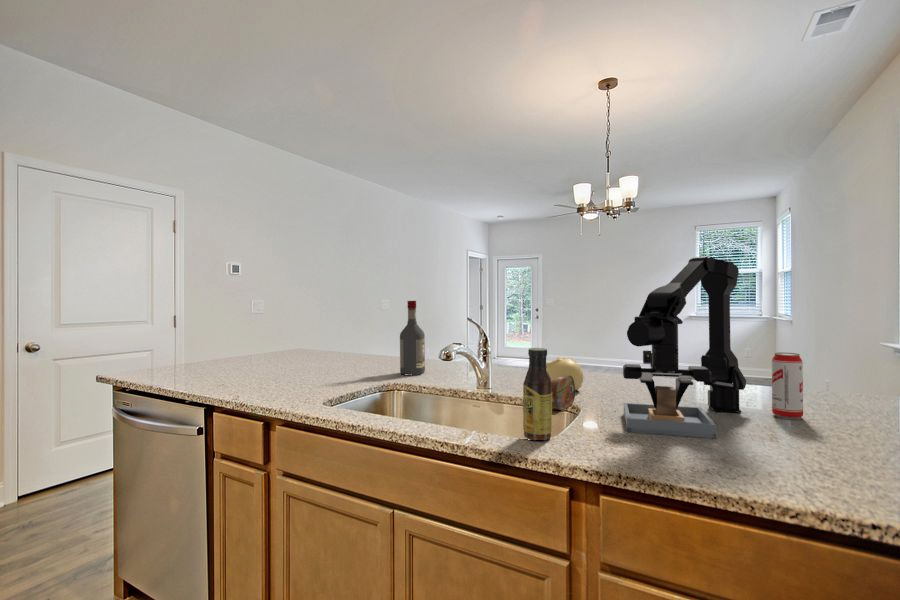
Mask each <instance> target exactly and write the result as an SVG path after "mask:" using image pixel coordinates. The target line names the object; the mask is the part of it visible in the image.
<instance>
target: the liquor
mask: <svg viewBox="0 0 900 600" xmlns="http://www.w3.org/2000/svg"><path fill="white" fill-rule="evenodd" d="M406 323H407V324H406V326H404V328H403V329H402V330H401V332H400V334H399V352H400V353H399V364H400V366H399V368H400V369H399V371H400V374H401V373H402V374H412V375H411V376H421V375H420V374H422V375H424V373H425V371H426V359H425V358H426V354H425V353H426V350H425V348H426V347H425V345H426V344H425V343H426V341H425V339H426V338H425V332H424V330H423V329H422V328H421V327H420V326H419V325H418V322H417V300H407V322H406ZM402 374H401V375H402Z"/></svg>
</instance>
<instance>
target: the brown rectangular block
mask: <svg viewBox="0 0 900 600" xmlns="http://www.w3.org/2000/svg"><path fill="white" fill-rule="evenodd" d="M675 388H676V387H674V386H663V385H655V391H656V399H657V408H655V414H656V415H665V416H676V390H675Z"/></svg>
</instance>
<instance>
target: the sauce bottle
mask: <svg viewBox="0 0 900 600" xmlns="http://www.w3.org/2000/svg"><path fill="white" fill-rule="evenodd" d="M527 354H528V357H529V358H528V359H529V360H528V368H527V372H526V374H525V378H524V381H523V385H522V386H523V387H522V388H523V389H522V390H523V393H522V394H523V395H522V397H523V398H522V399H523V400H522V402H523V403H522V406H523V407H522V409H523V411H522V413H523V414H522V415H523V416H522V417H523V418H522V421H523V423H522V425H523V426H522V427H523V428H522V430H523V436H524V438H526V439H528V440H530V441H532V440H544V441H548V440H550V439H551V438H552V431H553V430H552V429H553V428H552V427H553V416H552V415H553V409H552V391H551V383H552V382H551V378H550V376H549V374H548V372H547V371H546V368H547V366H546V364H547V357H548V349H547V348H544V347H531V348H528V353H527ZM547 439H548V440H547Z"/></svg>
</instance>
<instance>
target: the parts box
mask: <svg viewBox="0 0 900 600" xmlns="http://www.w3.org/2000/svg"><path fill="white" fill-rule="evenodd" d="M623 417H624V423H625V428H626V431H627V433H636V434H637V433H638V434H639V433H640V434H650V435H652V434H653V435H654V434H655V435H661V436H662V435H663V436H664V435H665V436H675V437H676V436H677V437H691V438H703V439H704V438H705V439H716V440H717V438H718V437H717V424H716V423H715V422H714V421H713V419H712V418H711V417H710V416H709V415H708V414H707V413H706V412H705V411H704V410H703V408H702V407H701V406H686V405H678V408H677V410H676V416H665V415H656V414H655V407H654V404H653V403H651V404H650V403H638V402H637V403H635V402H633V403H632V402H623Z"/></svg>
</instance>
